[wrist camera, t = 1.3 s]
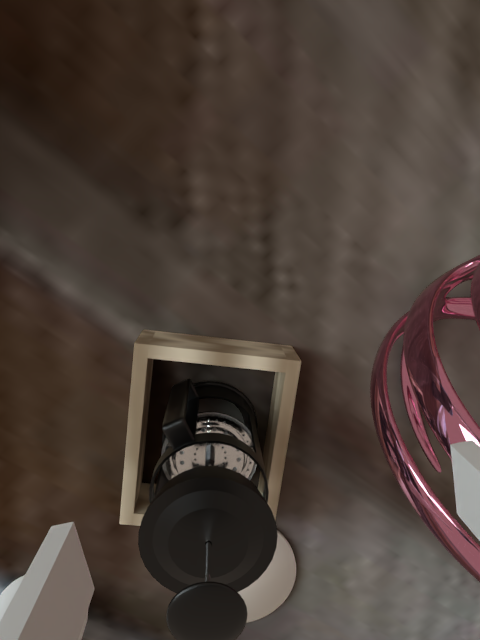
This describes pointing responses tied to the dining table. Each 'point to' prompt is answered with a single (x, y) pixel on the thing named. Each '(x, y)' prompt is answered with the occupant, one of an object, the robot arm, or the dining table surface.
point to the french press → (207, 513)
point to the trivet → (271, 583)
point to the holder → (209, 353)
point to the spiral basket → (428, 404)
